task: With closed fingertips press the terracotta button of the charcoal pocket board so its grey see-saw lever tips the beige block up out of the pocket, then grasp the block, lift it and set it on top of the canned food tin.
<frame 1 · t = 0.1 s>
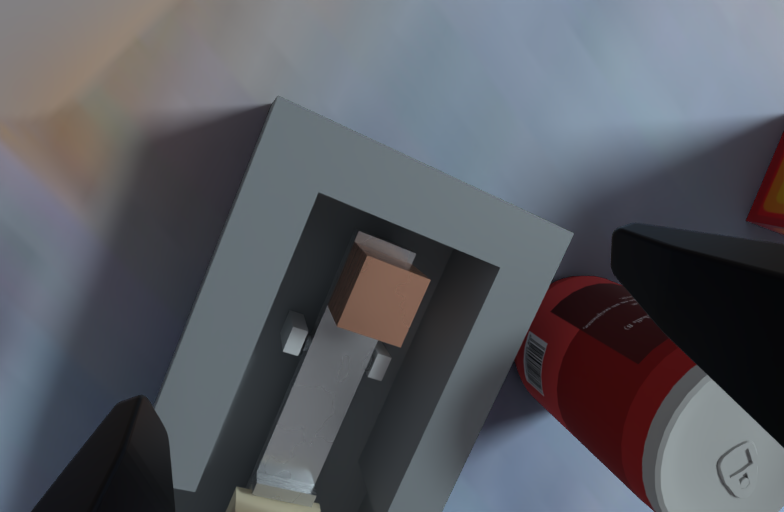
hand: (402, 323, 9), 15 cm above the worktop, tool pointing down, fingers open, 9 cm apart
ejector lever: (310, 437, 23), point 3 cm above the worktop, hinge at 0.0°, touching beige block, pocket board
pocket board: (307, 388, 26), on the worktop
canned food: (568, 337, 29), on the worktop
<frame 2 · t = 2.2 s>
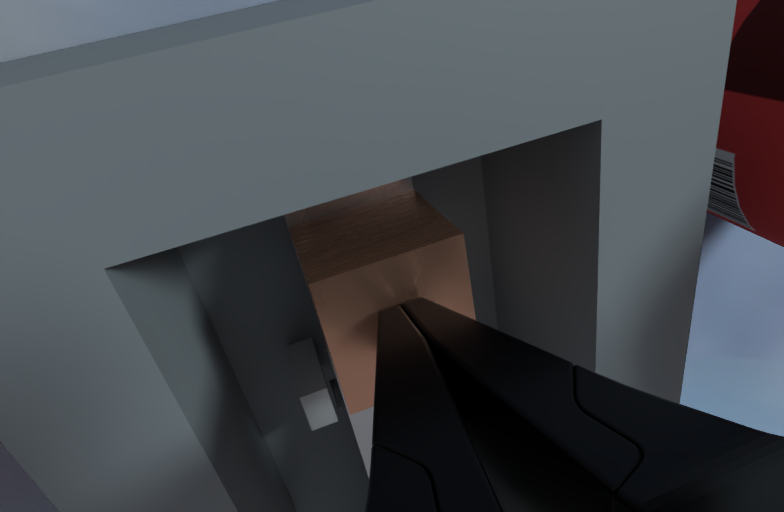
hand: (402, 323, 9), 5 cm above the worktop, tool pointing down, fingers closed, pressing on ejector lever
ejector lever: (430, 501, 14), point 4 cm above the worktop, hinge at 2.3°, touching gripper, beige block
pocket board: (387, 398, 17), on the worktop
canned food: (736, 84, 16), on the worktop
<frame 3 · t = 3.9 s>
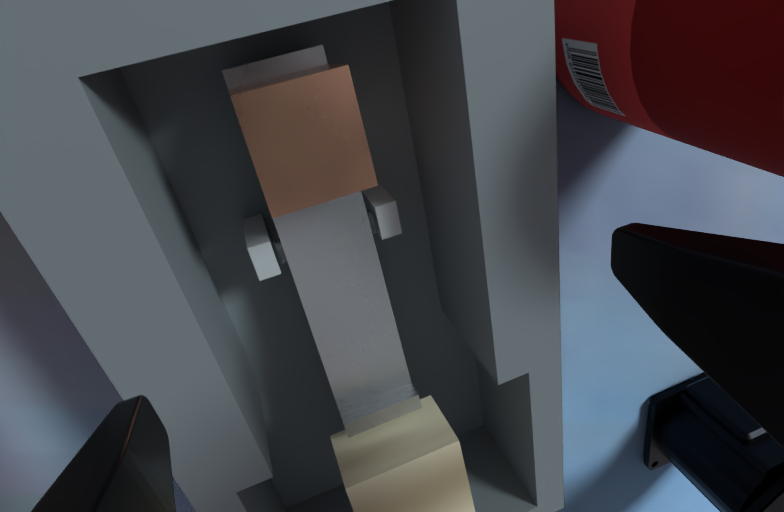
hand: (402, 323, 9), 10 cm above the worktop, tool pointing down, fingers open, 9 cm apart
ejector lever: (363, 348, 17), point 4 cm above the worktop, hinge at 7.1°, touching beige block
pocket board: (333, 279, 20), on the worktop
canned food: (623, 4, 19), on the worktop
beige block: (394, 460, 20), point 4 cm above the worktop, tilted 7°, touching ejector lever
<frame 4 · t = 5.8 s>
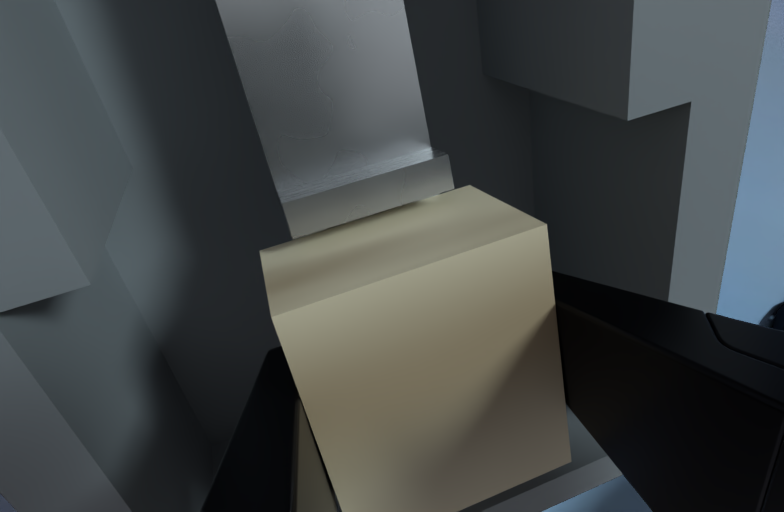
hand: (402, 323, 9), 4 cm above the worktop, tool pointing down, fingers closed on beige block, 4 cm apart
beige block: (395, 323, 10), point 4 cm above the worktop, tilted 7°, touching ejector lever, gripper
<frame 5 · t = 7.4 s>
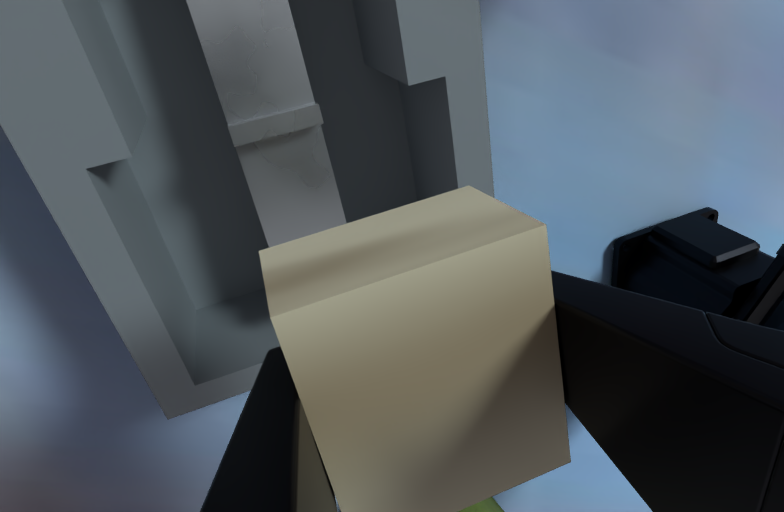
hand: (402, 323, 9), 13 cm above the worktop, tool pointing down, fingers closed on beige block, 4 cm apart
ejector lever: (245, 18, 14), point 4 cm above the worktop, hinge at 7.1°
beige block: (395, 324, 10), point 12 cm above the worktop, tilted 7°, touching gripper
plant pot: (410, 484, 32), on the worktop
when the fingers open (12 cm above the worktop, at t = 9.0 s): beige block stays where it is, resting on canned food.
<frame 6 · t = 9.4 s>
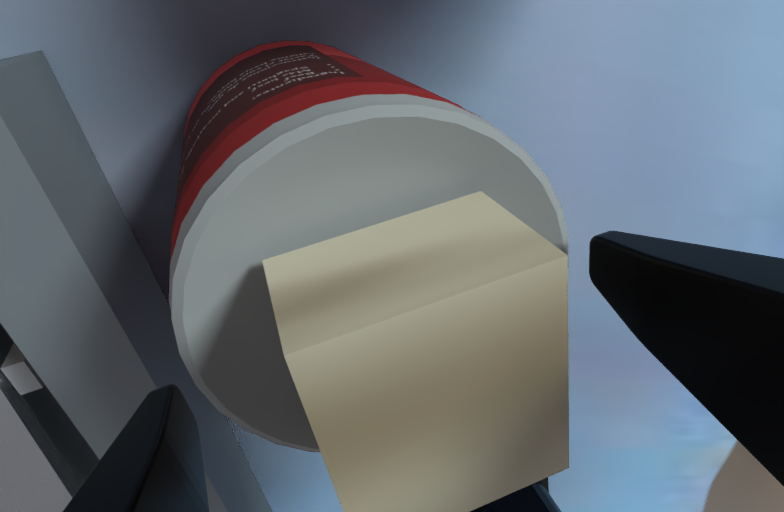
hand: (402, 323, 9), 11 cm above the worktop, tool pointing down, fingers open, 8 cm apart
pocket board: (26, 411, 20), on the worktop
canned food: (299, 149, 19), on the worktop, touching beige block
beige block: (398, 327, 10), point 11 cm above the worktop, touching canned food
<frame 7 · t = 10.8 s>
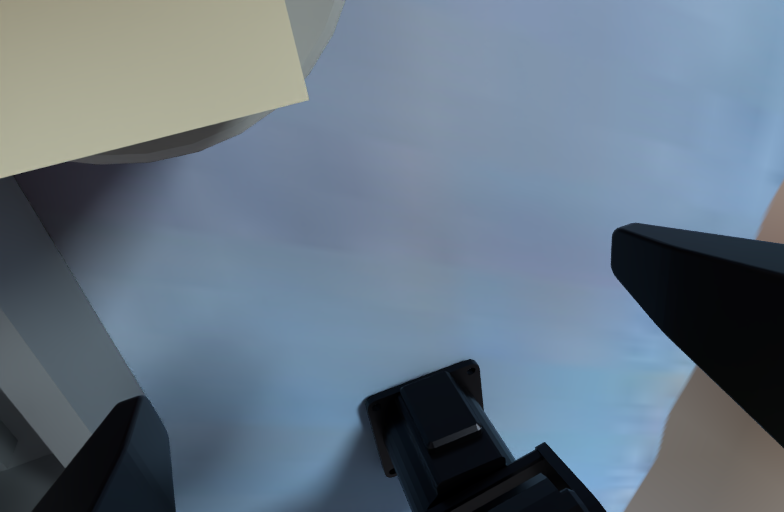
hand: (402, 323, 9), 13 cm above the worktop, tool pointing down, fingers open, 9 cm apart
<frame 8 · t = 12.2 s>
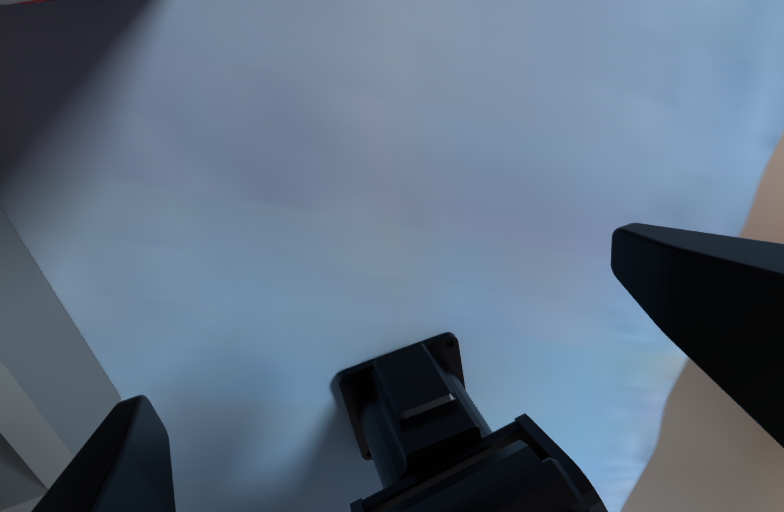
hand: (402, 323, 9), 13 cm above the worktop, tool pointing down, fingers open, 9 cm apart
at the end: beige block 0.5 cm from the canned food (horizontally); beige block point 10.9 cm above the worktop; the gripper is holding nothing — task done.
